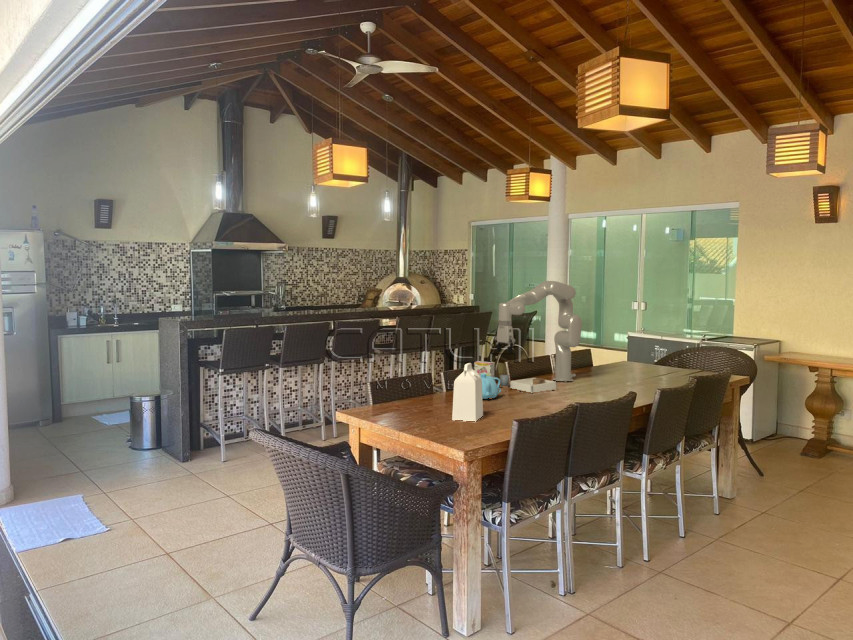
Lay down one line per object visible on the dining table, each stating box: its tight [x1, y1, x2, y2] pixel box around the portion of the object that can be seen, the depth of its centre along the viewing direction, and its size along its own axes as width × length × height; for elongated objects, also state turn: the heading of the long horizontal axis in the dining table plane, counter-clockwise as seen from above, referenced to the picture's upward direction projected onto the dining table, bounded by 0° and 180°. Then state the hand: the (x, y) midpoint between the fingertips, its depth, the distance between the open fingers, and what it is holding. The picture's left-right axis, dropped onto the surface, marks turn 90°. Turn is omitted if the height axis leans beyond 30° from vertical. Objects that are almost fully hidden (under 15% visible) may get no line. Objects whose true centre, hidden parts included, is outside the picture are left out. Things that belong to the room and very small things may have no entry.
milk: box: [451, 362, 484, 423], centre depth 304 cm, size 12×12×26 cm
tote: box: [509, 377, 558, 393], centre depth 376 cm, size 20×18×5 cm
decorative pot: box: [480, 373, 502, 400], centre depth 352 cm, size 16×16×14 cm
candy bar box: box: [473, 360, 496, 378], centre depth 376 cm, size 11×5×16 cm, turn 58°
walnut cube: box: [533, 377, 546, 385], centre depth 379 cm, size 5×5×5 cm
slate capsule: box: [499, 374, 510, 387], centre depth 386 cm, size 5×5×7 cm
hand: (504, 352), depth 384 cm, fingers open, 9 cm apart
